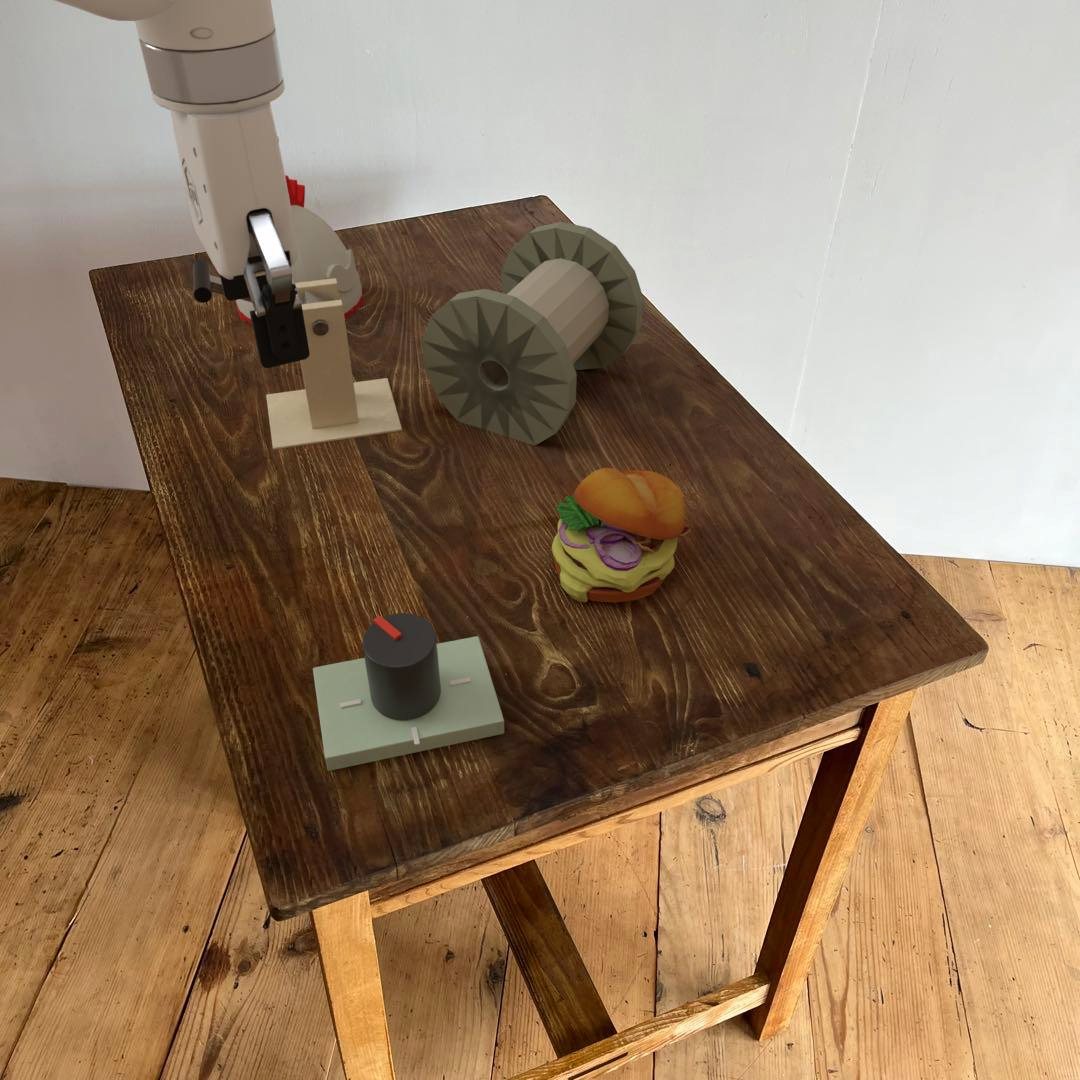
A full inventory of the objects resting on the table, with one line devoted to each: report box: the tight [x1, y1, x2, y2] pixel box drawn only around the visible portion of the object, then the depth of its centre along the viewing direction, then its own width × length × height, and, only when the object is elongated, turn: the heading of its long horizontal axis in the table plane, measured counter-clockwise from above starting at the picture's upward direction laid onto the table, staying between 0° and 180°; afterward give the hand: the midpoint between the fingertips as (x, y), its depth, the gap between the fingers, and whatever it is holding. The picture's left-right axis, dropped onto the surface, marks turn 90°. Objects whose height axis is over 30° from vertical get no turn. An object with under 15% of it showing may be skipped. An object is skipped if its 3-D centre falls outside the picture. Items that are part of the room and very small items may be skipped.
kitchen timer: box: [235, 174, 364, 325], centre depth 110 cm, size 14×14×15 cm
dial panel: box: [312, 635, 505, 772], centre depth 71 cm, size 12×9×3 cm
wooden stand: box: [265, 278, 403, 451], centre depth 94 cm, size 12×9×14 cm
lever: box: [192, 259, 335, 304], centre depth 88 cm, size 12×5×2 cm, turn 105°
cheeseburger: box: [551, 467, 691, 603], centre depth 81 cm, size 10×11×10 cm
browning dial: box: [361, 612, 441, 720], centre depth 68 cm, size 5×5×6 cm
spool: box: [421, 221, 645, 446], centre depth 97 cm, size 16×15×15 cm
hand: (266, 327), depth 70 cm, fingers open, 9 cm apart
